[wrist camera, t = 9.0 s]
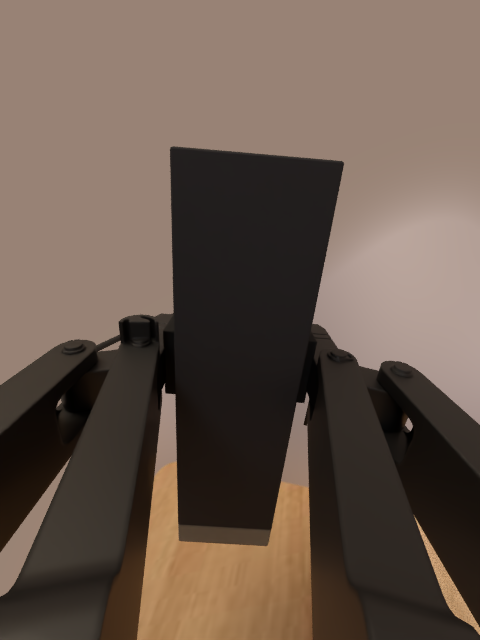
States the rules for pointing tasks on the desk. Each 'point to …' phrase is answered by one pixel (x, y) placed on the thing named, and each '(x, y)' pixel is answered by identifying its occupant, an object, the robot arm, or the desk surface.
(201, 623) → the desk surface
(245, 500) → the black tall block
